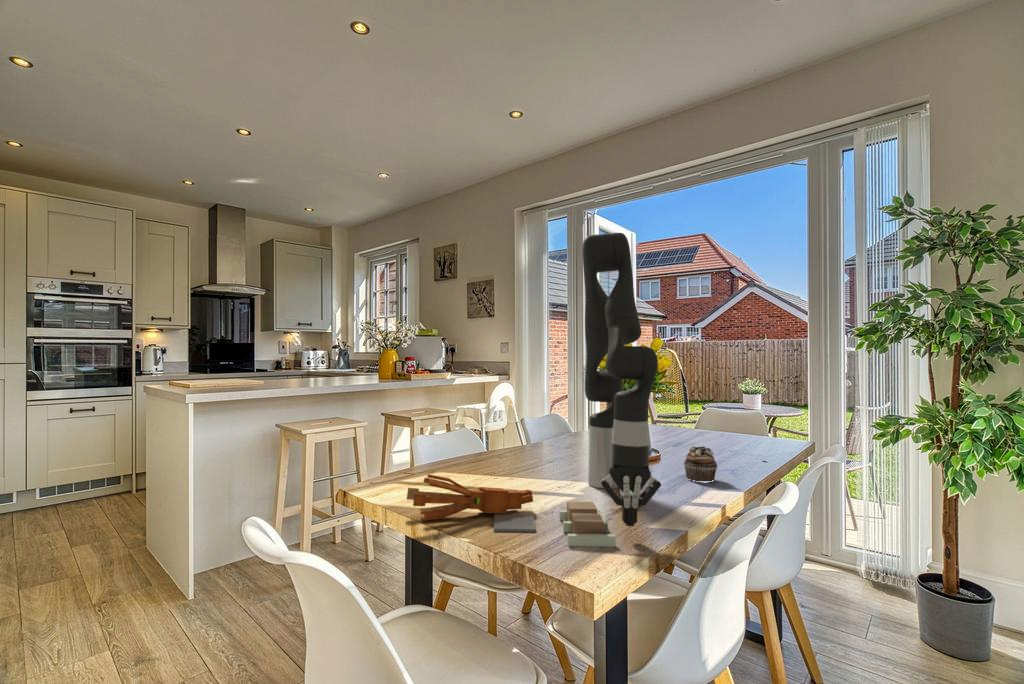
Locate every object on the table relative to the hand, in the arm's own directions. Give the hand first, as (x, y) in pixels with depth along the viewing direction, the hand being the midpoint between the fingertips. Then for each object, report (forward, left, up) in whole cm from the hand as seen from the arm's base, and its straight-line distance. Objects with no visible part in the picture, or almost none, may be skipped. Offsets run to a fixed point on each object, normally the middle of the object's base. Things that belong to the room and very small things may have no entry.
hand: (629, 524), depth 102 cm
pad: (-8, -24, -3) cm, 25 cm away
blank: (0, -9, -3) cm, 9 cm away
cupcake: (-48, +34, -3) cm, 59 cm away
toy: (-14, -34, -3) cm, 37 cm away
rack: (-4, -8, -3) cm, 10 cm away
